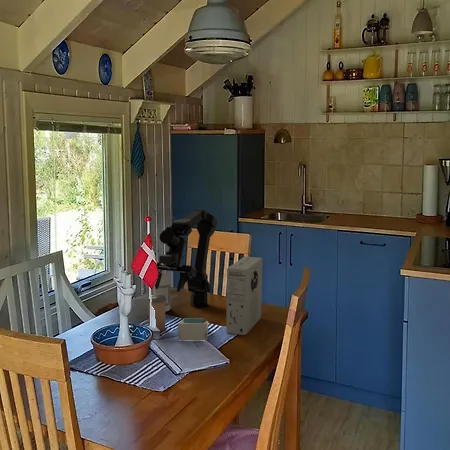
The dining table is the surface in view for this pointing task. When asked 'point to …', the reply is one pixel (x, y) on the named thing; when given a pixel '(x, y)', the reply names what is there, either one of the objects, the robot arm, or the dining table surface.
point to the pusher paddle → (193, 320)
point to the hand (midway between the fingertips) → (167, 290)
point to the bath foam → (164, 289)
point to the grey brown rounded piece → (158, 310)
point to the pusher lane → (192, 331)
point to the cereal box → (244, 295)
